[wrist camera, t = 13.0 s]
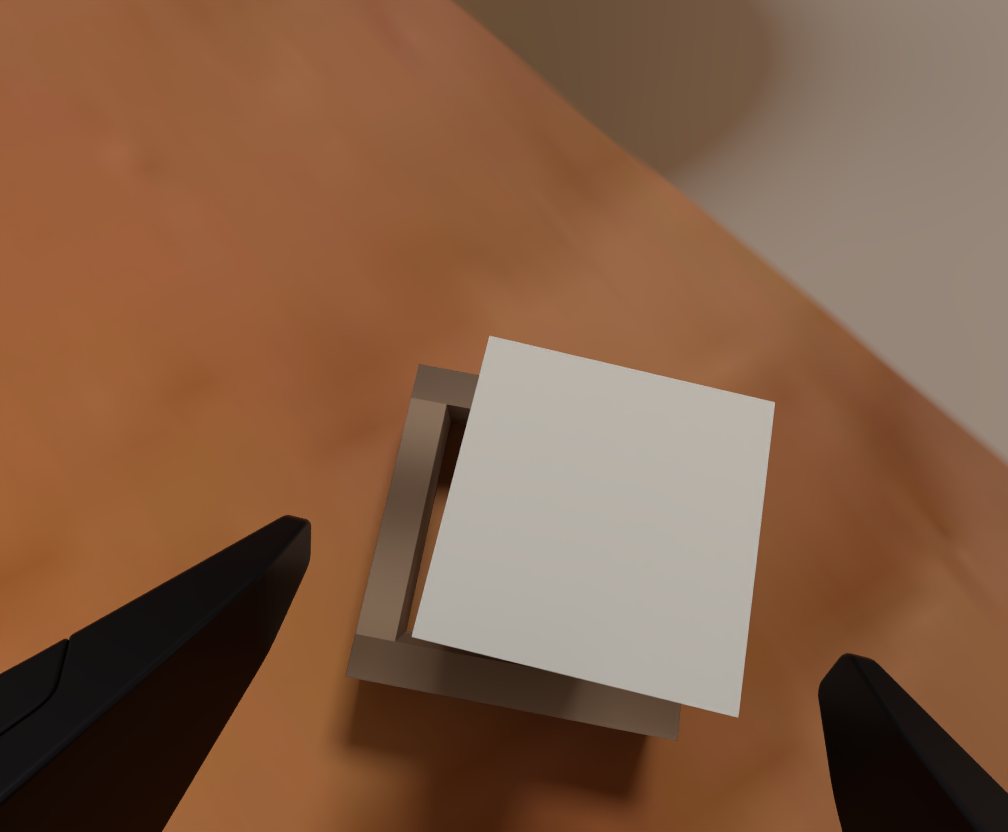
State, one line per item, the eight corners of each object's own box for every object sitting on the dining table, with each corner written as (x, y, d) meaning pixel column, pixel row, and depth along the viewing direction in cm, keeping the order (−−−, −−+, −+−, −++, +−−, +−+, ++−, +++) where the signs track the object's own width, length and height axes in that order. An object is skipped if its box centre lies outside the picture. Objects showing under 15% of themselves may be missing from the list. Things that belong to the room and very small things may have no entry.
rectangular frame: (652, 718, 19) (677, 740, 17) (362, 661, 19) (345, 676, 17) (682, 434, 21) (708, 418, 19) (426, 386, 22) (419, 363, 19)
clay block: (581, 621, 20) (738, 718, 8) (455, 590, 20) (411, 636, 8) (605, 494, 21) (775, 402, 9) (485, 466, 21) (489, 335, 9)
